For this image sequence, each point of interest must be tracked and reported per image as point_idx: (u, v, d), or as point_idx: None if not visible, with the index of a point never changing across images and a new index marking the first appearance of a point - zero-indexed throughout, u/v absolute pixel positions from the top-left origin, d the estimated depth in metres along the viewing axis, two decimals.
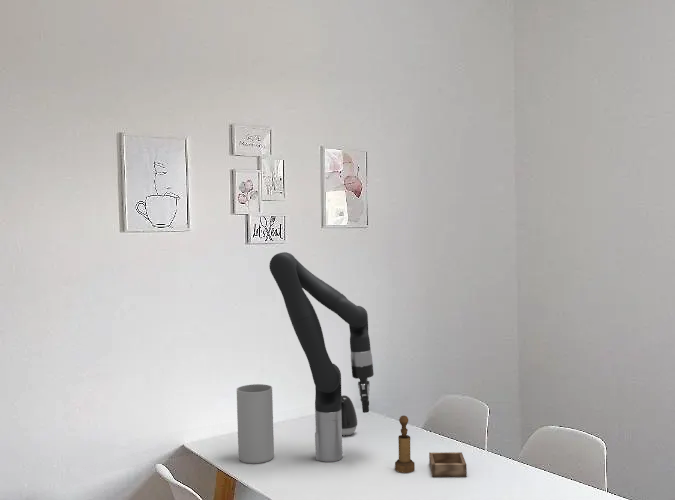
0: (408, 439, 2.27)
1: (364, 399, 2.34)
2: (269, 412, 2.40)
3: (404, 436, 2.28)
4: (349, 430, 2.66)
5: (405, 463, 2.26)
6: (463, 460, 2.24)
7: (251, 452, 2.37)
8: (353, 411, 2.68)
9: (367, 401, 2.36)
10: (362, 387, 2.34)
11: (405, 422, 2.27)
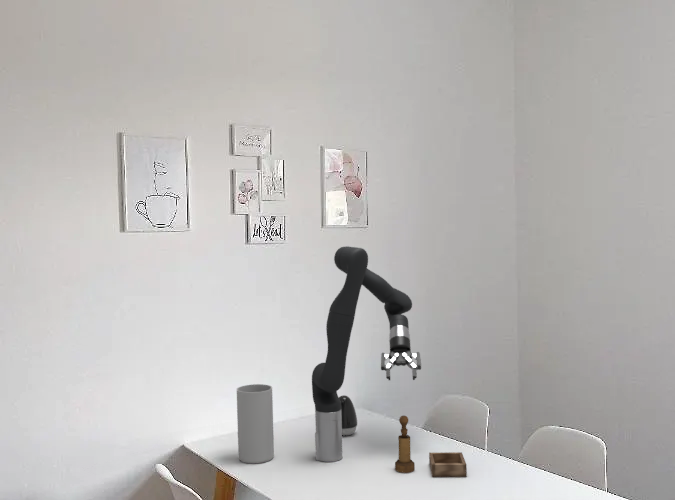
0: (408, 439, 2.27)
1: None
2: (269, 412, 2.40)
3: (404, 436, 2.28)
4: (349, 430, 2.66)
5: (405, 463, 2.26)
6: (463, 460, 2.24)
7: (251, 452, 2.37)
8: (353, 411, 2.68)
9: None
10: (419, 355, 2.46)
11: (405, 422, 2.27)
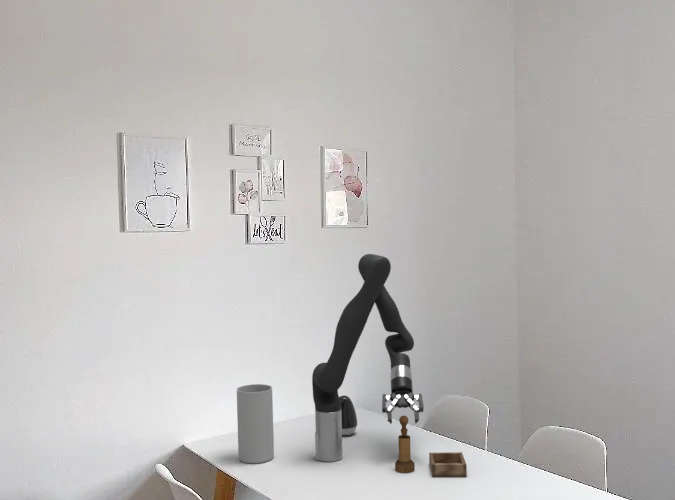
0: (408, 439, 2.27)
1: None
2: (269, 412, 2.40)
3: (404, 436, 2.28)
4: (349, 430, 2.66)
5: (405, 463, 2.26)
6: (463, 460, 2.24)
7: (251, 452, 2.37)
8: (353, 411, 2.68)
9: None
10: None
11: (405, 422, 2.27)
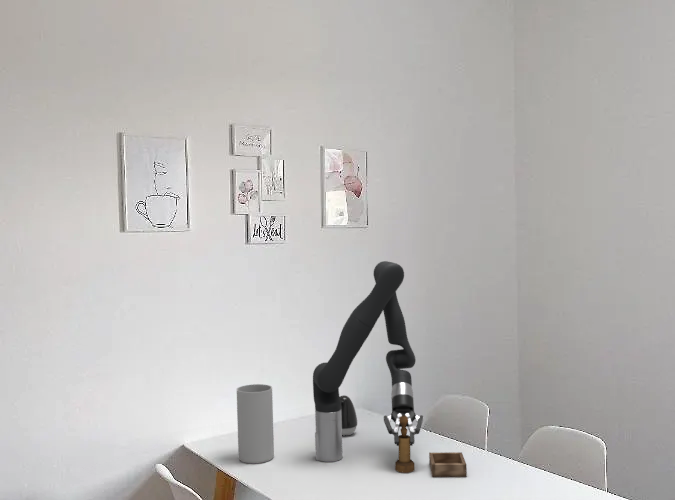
0: (408, 439, 2.27)
1: (419, 430, 2.29)
2: (269, 412, 2.40)
3: (404, 436, 2.28)
4: (349, 430, 2.66)
5: (405, 463, 2.26)
6: (463, 460, 2.24)
7: (251, 452, 2.37)
8: (353, 411, 2.68)
9: None
10: (422, 420, 2.32)
11: (405, 422, 2.27)
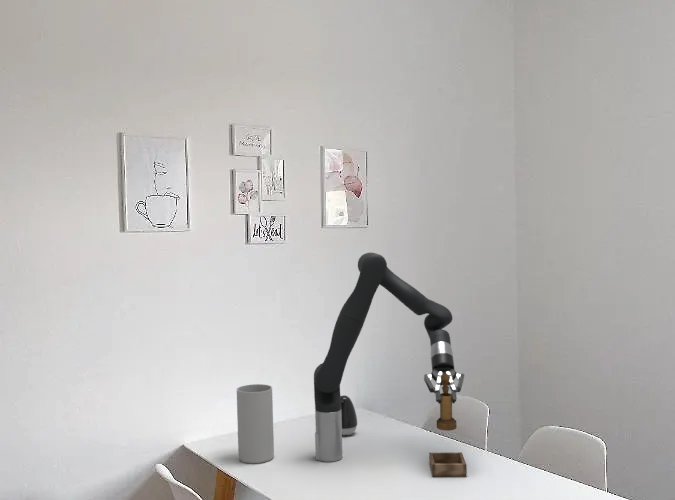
0: (450, 397, 2.25)
1: (460, 388, 2.27)
2: (269, 412, 2.40)
3: (446, 394, 2.26)
4: (349, 430, 2.66)
5: (447, 421, 2.24)
6: (463, 460, 2.24)
7: (251, 452, 2.37)
8: (353, 411, 2.68)
9: None
10: (463, 378, 2.30)
11: (447, 380, 2.25)
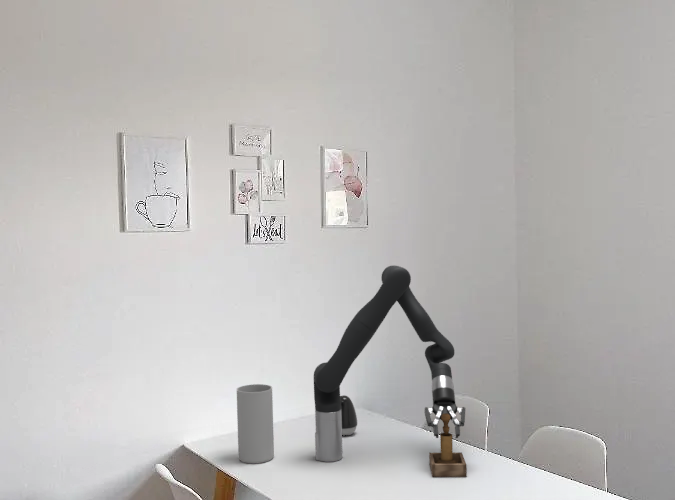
0: (451, 437, 2.25)
1: (464, 422, 2.28)
2: (269, 412, 2.40)
3: (446, 434, 2.26)
4: (349, 430, 2.66)
5: (447, 461, 2.25)
6: (463, 460, 2.24)
7: (251, 452, 2.37)
8: (353, 411, 2.68)
9: None
10: None
11: (448, 420, 2.25)
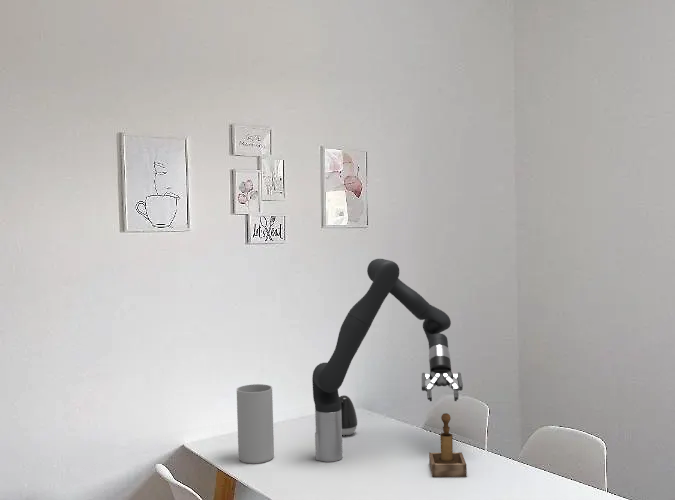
0: (451, 437, 2.25)
1: None
2: (269, 412, 2.40)
3: (446, 434, 2.26)
4: (349, 430, 2.66)
5: (448, 461, 2.25)
6: (463, 460, 2.24)
7: (251, 452, 2.37)
8: (353, 411, 2.68)
9: None
10: (460, 376, 2.42)
11: (448, 420, 2.25)
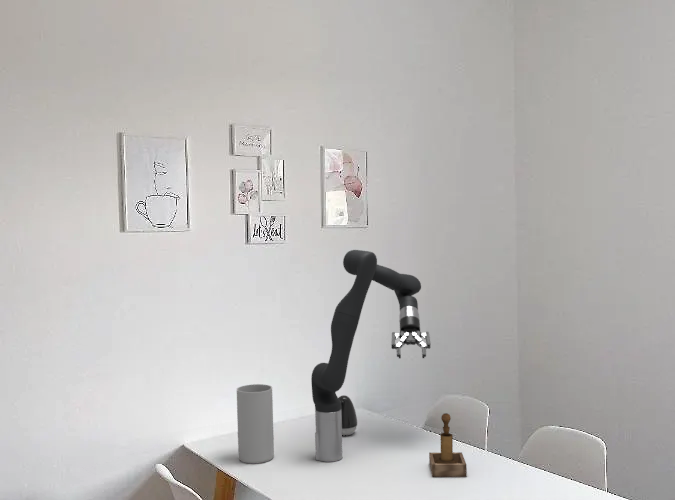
0: (451, 437, 2.25)
1: None
2: (269, 412, 2.40)
3: (446, 434, 2.26)
4: (349, 429, 2.66)
5: (448, 461, 2.25)
6: (463, 460, 2.24)
7: (251, 452, 2.37)
8: (353, 411, 2.68)
9: None
10: None
11: (448, 420, 2.25)
